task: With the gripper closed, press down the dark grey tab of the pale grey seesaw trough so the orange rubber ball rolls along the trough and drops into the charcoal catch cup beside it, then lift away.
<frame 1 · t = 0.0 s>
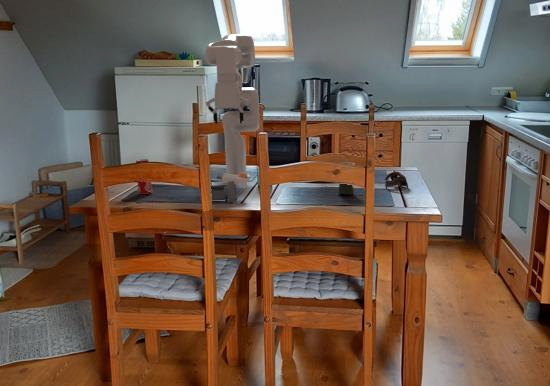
hand: (228, 123, 231), 31 cm above the table, tool pointing down, fingers open, 9 cm apart
ball: (243, 176, 238), point 9 cm above the table, tilted 12°, touching seesaw trough
character mug: (345, 195, 242), on the table
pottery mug: (396, 188, 252), on the table
seesaw trough: (233, 176, 241), point 9 cm above the table, hinge at -8.0°, touching ball
catapult stand: (232, 198, 240), on the table
beverage can: (145, 194, 252), on the table
catch cup: (217, 199, 240), on the table
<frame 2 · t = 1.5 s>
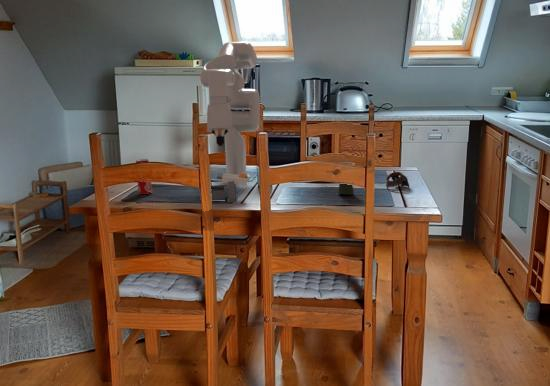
hand: (220, 145, 242), 21 cm above the table, tool pointing down, fingers closed
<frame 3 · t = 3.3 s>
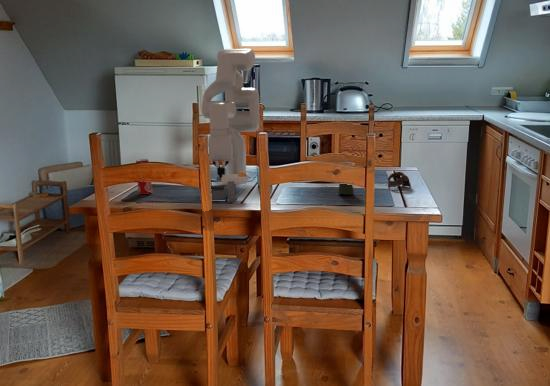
hand: (221, 176, 244), 8 cm above the table, tool pointing down, fingers closed
ball: (242, 175, 237), point 10 cm above the table, touching seesaw trough
seesaw trough: (232, 176, 241), point 9 cm above the table, hinge at 0.1°, touching ball, gripper
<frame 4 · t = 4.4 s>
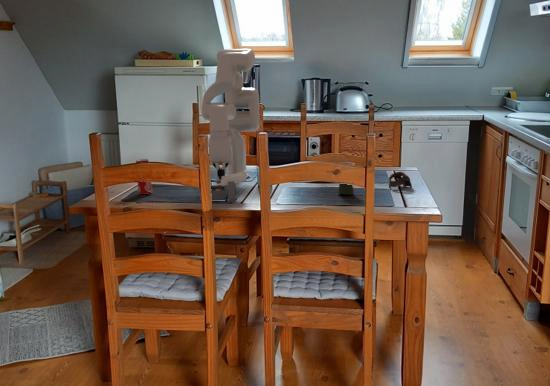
hand: (221, 178, 245), 7 cm above the table, tool pointing down, fingers closed
ball: (218, 193, 239), point 3 cm above the table, tilted 123°, touching catch cup
seesaw trough: (231, 176, 241), point 9 cm above the table, hinge at 11.2°, touching gripper
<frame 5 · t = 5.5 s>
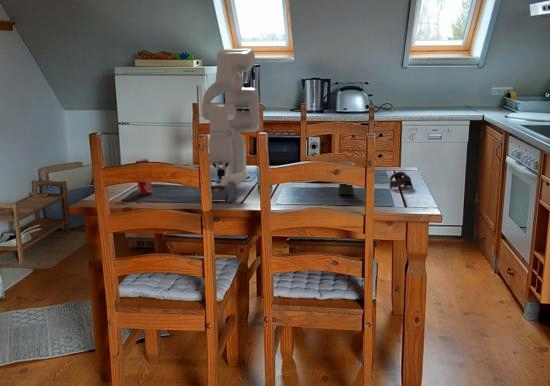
hand: (221, 178, 245), 7 cm above the table, tool pointing down, fingers closed
ball: (216, 193, 239), point 3 cm above the table, tilted 94°, touching catch cup
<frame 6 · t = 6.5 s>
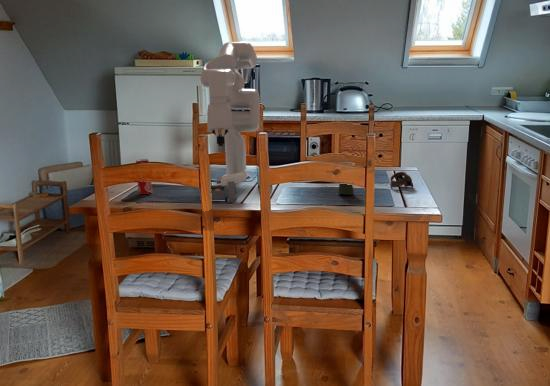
hand: (220, 145, 242), 21 cm above the table, tool pointing down, fingers closed
ball: (217, 193, 239), point 3 cm above the table, tilted 116°, touching catch cup
seesaw trough: (231, 176, 241), point 9 cm above the table, hinge at 11.3°
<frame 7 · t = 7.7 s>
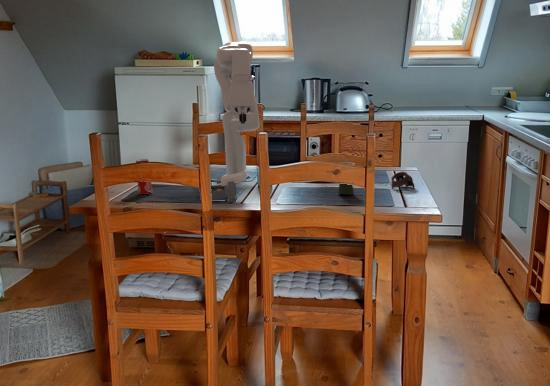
hand: (242, 123, 248), 29 cm above the table, tool pointing down, fingers closed
ball: (219, 193, 239), point 3 cm above the table, tilted 141°, touching catch cup
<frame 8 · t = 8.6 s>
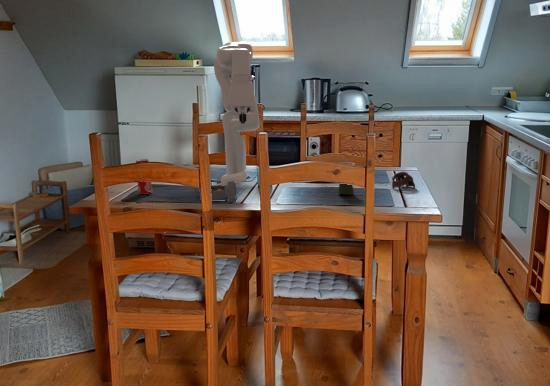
hand: (242, 123, 248), 29 cm above the table, tool pointing down, fingers closed
at the end: ball 0.9 cm off-centre on the catch cup, point 2.5 cm above the catch cup's base; seesaw trough at +11° (first picture: -8°) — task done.
